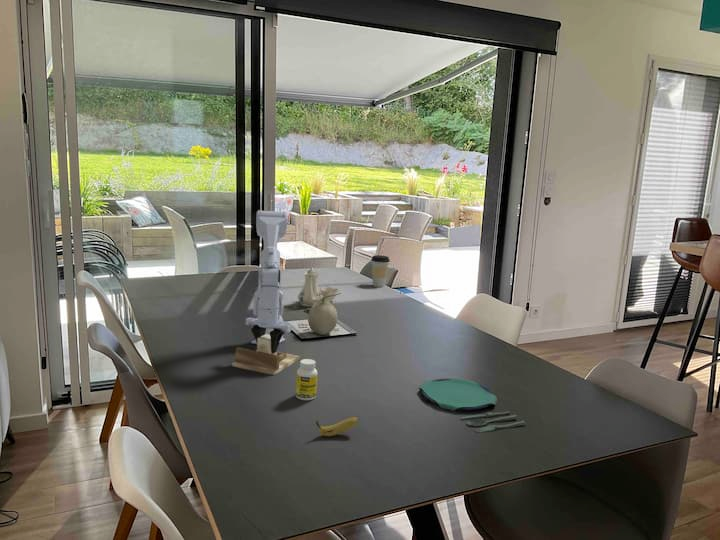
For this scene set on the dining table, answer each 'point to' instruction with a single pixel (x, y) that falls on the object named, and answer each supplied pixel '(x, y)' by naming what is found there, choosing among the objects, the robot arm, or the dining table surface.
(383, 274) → the coffee cup
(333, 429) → the banana
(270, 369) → the board
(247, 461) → the dining table surface
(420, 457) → the dining table surface
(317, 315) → the fruit
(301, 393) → the supplement bottle
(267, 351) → the cabinet block
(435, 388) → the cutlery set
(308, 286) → the chinaware
